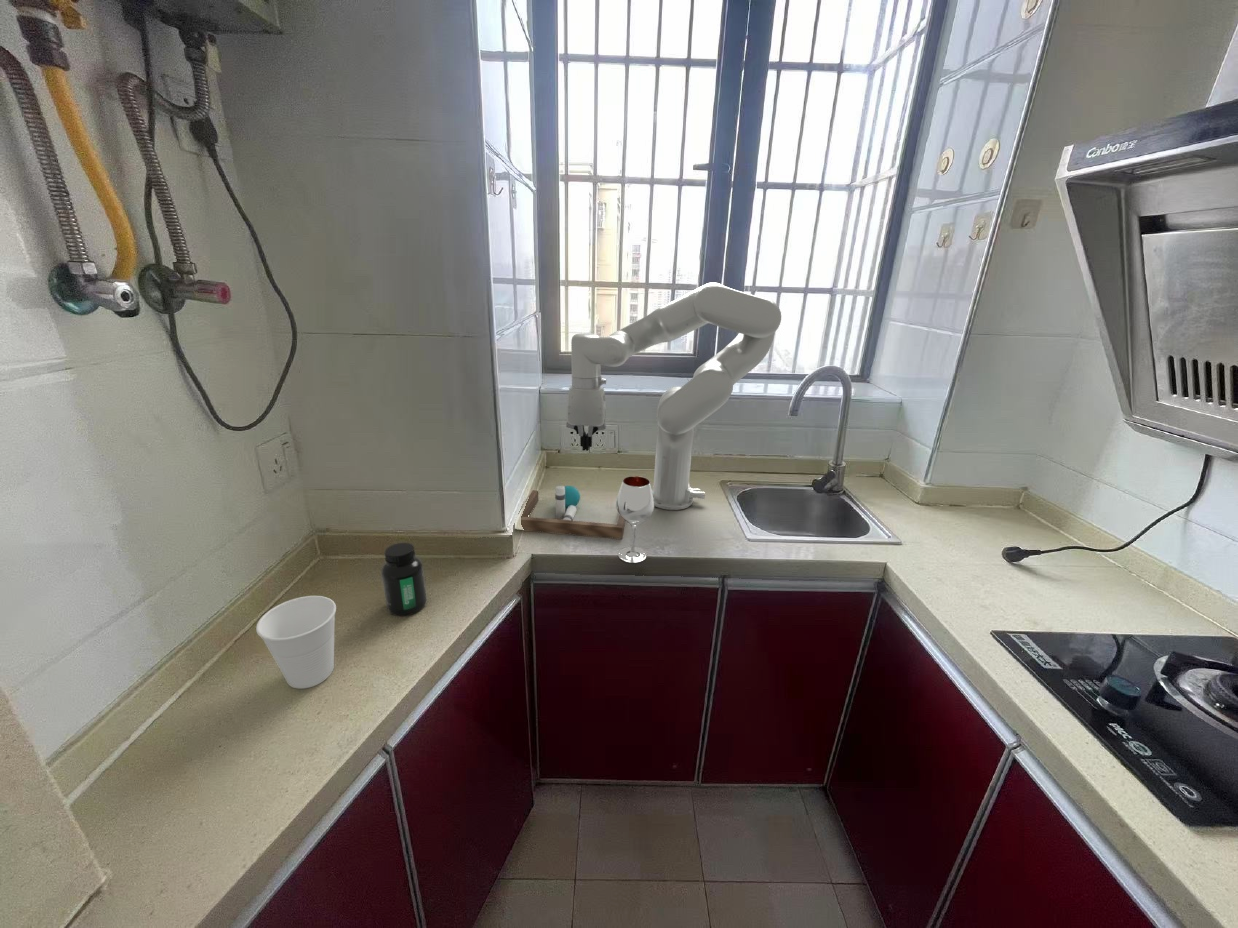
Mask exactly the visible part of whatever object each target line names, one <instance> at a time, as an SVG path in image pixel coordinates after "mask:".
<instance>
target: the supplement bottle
mask: <svg viewBox="0 0 1238 928" xmlns="http://www.w3.org/2000/svg"><path fill="white" fill-rule="evenodd" d="M384 556H385V557H384V560H385V562H384V564H383V565H382V567H381V571H380V572H381V579H382V584H383V591H384V592H383V593H384V597H385V604H386V609H387V611H388V612H389V613H390V614H392V615H393V616H395V617H407V616H411V615H414V614H417V613H418V612H420V611H421V610H422V609H423V608H424V607H425V606H426V604H427V590H426V581H425V574H424V573H425V572H424V566H423V563H422V560H421V559H420V558H419V557H418V556H416V551H415V546H414V545H413V544H412V543H409V542H397V543H394V544H391V545H389V546H388V547H387V548H385V550H384Z"/></svg>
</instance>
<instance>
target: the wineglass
mask: <svg viewBox="0 0 1238 928" xmlns="http://www.w3.org/2000/svg"><path fill="white" fill-rule="evenodd" d="M652 490H653V488H652V485H651V481H650V479H648V478H647V477H644V476H639V475H630V476H627V477H625V478H623V479H622V482H621V485H620V488H619V491H618V494H617V497H616V501H615V508H616V511H617V513H618V516H619V515H620V516H621V517H622V518H623V519H624V520H625V521H626V522H627V523H628V524H629V525H630V526H631V542H630V543H631V545H630V546H627V547H623V548H621V549H620V550H618V553H620V554H618V553H617V556H618V558H619V559H620V560H622V561H623V562H624V563H629V564H639V563H641V562H644V561H645V560H646V559H647V556H646V555H647V552H646V551H645V550H643V549H642V548H639V547H636V532H637V529H636V528H637V527H638V526H639V525H640V524H642V523H643V522H645V521H647V519H649V518H650V517H651V516H652V514H653V513H654V509H655V506H654V498H653V493H652ZM640 553H641V554H643V553H645V554H643V555H644V556H643V555H641V554H640ZM621 554H622V555H621Z"/></svg>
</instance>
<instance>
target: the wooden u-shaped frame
mask: <svg viewBox="0 0 1238 928" xmlns="http://www.w3.org/2000/svg"><path fill="white" fill-rule="evenodd" d="M528 497H529V499H528V501H527V503H526V506H525V509H524V511H523V514H522V516H521V525H522V527H523V529H524V530H525V531H524V532H532V531H533V532H535V533H536V532H537V533H545V534H546V533H547V534H559V535H568V536H569V535H570V536H580V537H581V536H583V537H594V538H605V539H616V540H622V539H623V536H624V531H625V528H626V527H625V526H626V522H627V521H625V520H624V519H623V518H622V517H621V516H620V515H619V514H618V518H617V523H607V522H606V523H604V522H593V521H591V522H590V521H580V520H573V521H570V520H558V519H556V518H545V517H544V518H543V517H530V516H531V514H532V513H531V511H532V510H533V511H534V509H535V507H536V506H537V504H538V503H539V490H535V489H533V490H532V491H531V492H530V493H529V496H528ZM535 505H536V506H535ZM533 508H534V509H533ZM533 511H532V512H533ZM530 513H531V514H530ZM528 515H530V516H529V517H528ZM533 532H532V533H533Z"/></svg>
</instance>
